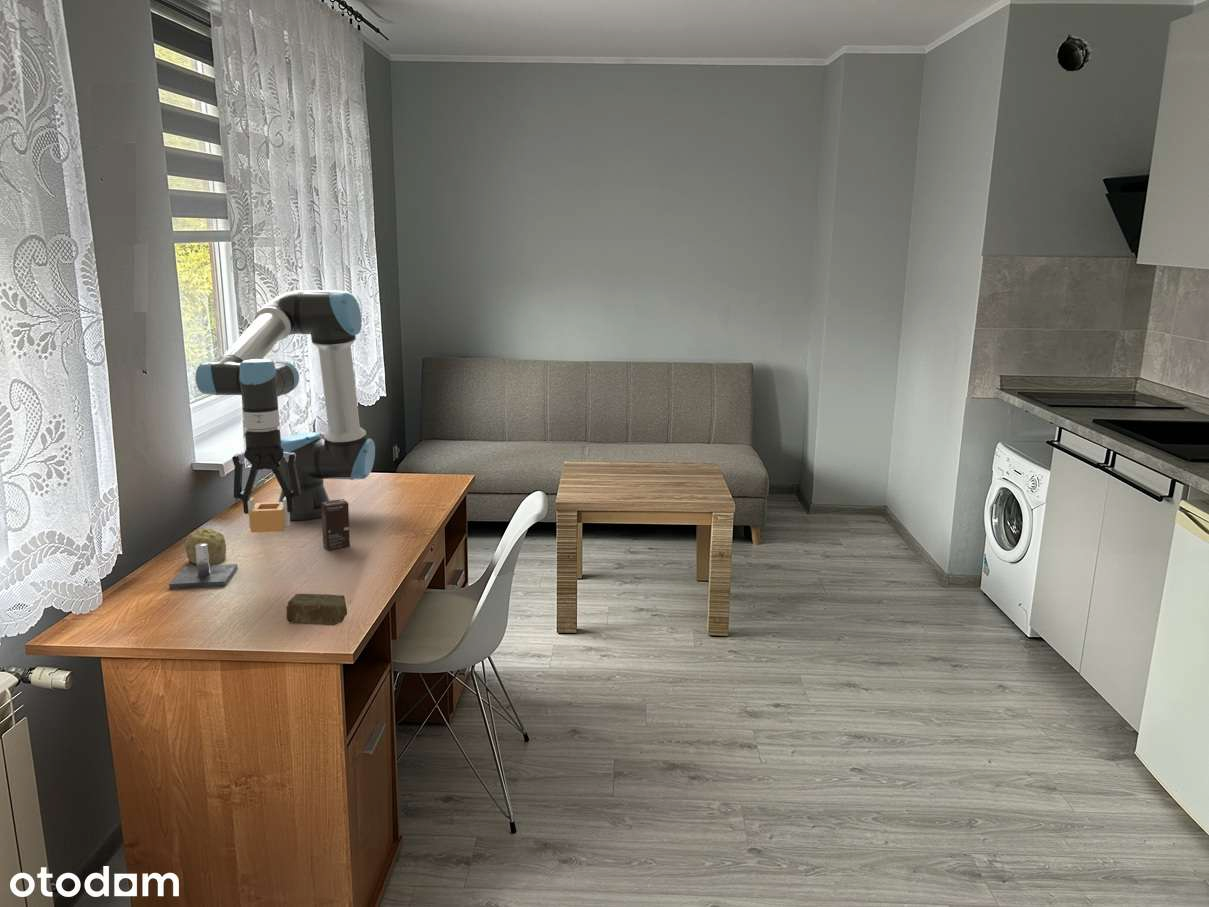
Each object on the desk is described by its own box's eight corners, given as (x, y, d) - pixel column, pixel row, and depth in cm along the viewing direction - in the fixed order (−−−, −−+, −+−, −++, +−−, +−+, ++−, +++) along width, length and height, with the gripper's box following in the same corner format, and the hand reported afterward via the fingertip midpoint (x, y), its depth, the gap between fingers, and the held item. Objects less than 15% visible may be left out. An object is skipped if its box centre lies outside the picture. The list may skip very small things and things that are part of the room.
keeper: (185, 571, 219) (181, 538, 218) (237, 568, 221) (234, 536, 219) (169, 589, 208) (165, 554, 206) (225, 586, 210) (222, 552, 208)
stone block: (297, 614, 194) (295, 591, 193) (349, 616, 193) (348, 594, 192) (285, 624, 189) (283, 602, 188) (339, 627, 188) (338, 604, 187)
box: (328, 551, 234) (325, 505, 232) (323, 546, 238) (320, 501, 235) (351, 547, 237) (348, 502, 235) (345, 542, 241) (343, 498, 239)
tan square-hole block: (257, 523, 215) (256, 502, 214) (288, 522, 216) (287, 501, 215) (251, 532, 208) (249, 511, 207) (283, 531, 209) (281, 510, 208)
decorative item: (227, 574, 228) (241, 537, 232) (202, 562, 219) (216, 523, 223) (196, 571, 231) (210, 534, 235) (170, 558, 222) (185, 520, 226)
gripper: (211, 433, 202) (220, 532, 207) (305, 430, 205) (312, 529, 210) (220, 426, 209) (229, 523, 214) (310, 424, 212) (317, 519, 217)
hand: (270, 525), depth 212 cm, fingers closed on tan square-hole block, 7 cm apart
